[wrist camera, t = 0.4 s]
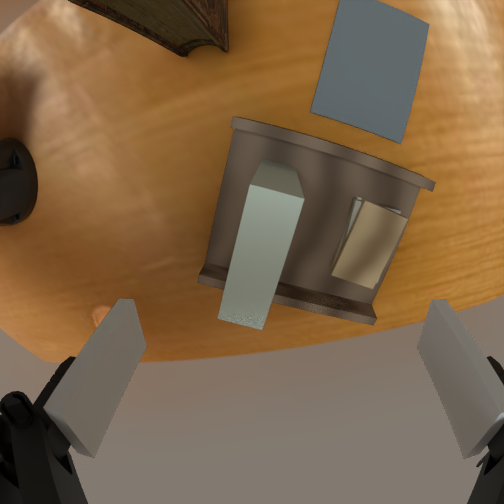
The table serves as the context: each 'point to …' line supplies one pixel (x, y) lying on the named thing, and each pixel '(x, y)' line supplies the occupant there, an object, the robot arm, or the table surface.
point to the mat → (371, 67)
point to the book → (169, 21)
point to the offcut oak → (368, 244)
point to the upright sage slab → (262, 244)
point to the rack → (308, 213)
